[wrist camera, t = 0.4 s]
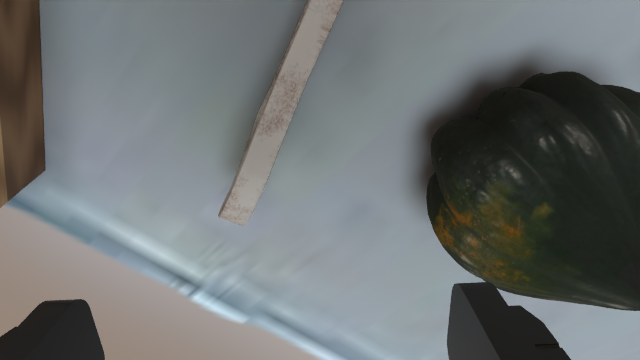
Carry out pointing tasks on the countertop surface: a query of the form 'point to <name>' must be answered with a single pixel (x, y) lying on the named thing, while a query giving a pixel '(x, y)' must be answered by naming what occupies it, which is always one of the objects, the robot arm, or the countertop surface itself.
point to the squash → (545, 191)
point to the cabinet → (20, 97)
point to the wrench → (278, 109)
